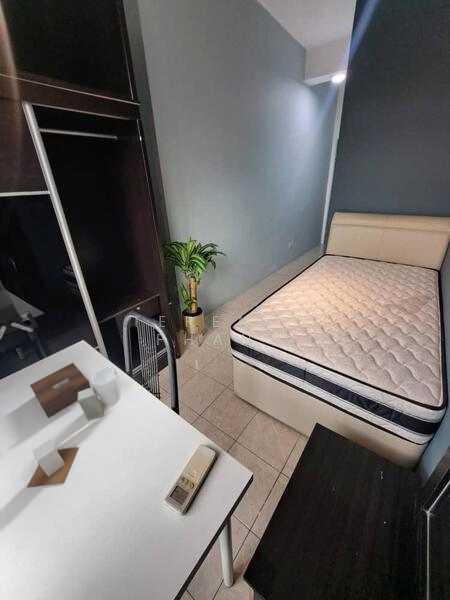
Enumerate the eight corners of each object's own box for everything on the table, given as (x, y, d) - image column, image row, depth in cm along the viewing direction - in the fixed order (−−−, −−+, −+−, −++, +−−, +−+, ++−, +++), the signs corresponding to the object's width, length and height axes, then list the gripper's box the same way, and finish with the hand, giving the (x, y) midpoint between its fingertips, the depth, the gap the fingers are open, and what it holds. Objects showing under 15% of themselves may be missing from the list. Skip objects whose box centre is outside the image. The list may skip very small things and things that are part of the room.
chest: (93, 392, 98) (88, 381, 95) (49, 419, 88) (42, 408, 85) (78, 374, 107) (73, 364, 105) (36, 396, 97) (30, 386, 95)
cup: (101, 393, 97) (92, 370, 91) (125, 387, 99) (117, 364, 94) (98, 412, 90) (88, 388, 84) (124, 404, 92) (116, 381, 86)
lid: (89, 382, 95) (85, 372, 92) (43, 410, 85) (37, 399, 82) (73, 363, 105) (69, 354, 102) (30, 386, 95) (24, 376, 92)
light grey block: (65, 464, 74) (55, 448, 70) (48, 477, 71) (37, 461, 67) (60, 454, 76) (50, 438, 72) (43, 466, 73) (32, 450, 70)
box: (103, 407, 91) (94, 385, 86) (104, 416, 88) (94, 394, 83) (87, 413, 89) (77, 391, 84) (87, 422, 86) (77, 401, 81)
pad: (27, 487, 69) (26, 486, 69) (46, 451, 78) (46, 450, 78) (64, 482, 70) (63, 482, 69) (79, 447, 78) (78, 446, 78)
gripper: (21, 293, 84) (39, 332, 92) (-35, 309, 75) (-10, 351, 83) (27, 300, 80) (45, 340, 88) (-32, 318, 71) (-6, 361, 78)
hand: (18, 345), depth 85 cm, fingers open, 8 cm apart
